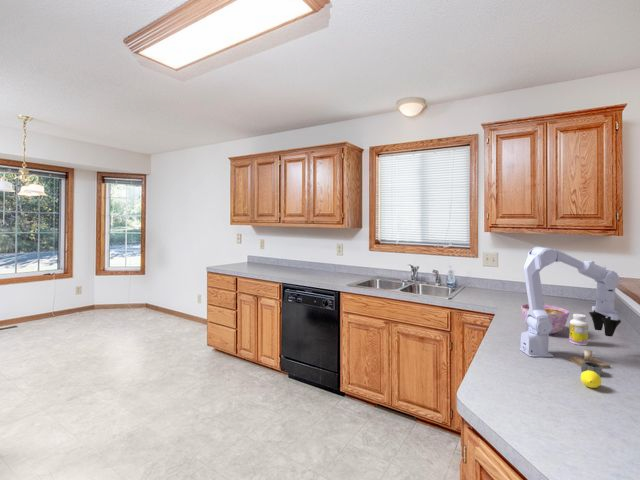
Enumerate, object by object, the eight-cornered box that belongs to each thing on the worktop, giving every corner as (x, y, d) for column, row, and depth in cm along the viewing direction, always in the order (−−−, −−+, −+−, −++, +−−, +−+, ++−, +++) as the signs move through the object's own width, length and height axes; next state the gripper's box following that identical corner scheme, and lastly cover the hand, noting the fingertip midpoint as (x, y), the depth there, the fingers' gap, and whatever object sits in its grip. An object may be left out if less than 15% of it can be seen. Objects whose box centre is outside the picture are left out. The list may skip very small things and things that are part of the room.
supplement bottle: (569, 339, 157) (570, 312, 157) (587, 342, 153) (588, 314, 152) (568, 343, 152) (569, 315, 151) (587, 347, 148) (588, 318, 147)
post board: (582, 367, 127) (583, 354, 126) (567, 359, 135) (567, 346, 134) (609, 368, 127) (610, 354, 126) (592, 359, 135) (593, 346, 134)
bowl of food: (553, 326, 177) (554, 304, 177) (578, 339, 157) (579, 314, 157) (512, 325, 179) (513, 303, 179) (532, 337, 159) (533, 313, 159)
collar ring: (589, 376, 120) (590, 367, 120) (577, 369, 125) (578, 361, 125) (605, 376, 120) (606, 367, 120) (592, 369, 125) (593, 361, 125)
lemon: (580, 382, 116) (581, 366, 116) (601, 387, 113) (602, 371, 113) (579, 387, 111) (580, 370, 111) (600, 392, 107) (601, 375, 108)
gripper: (628, 304, 128) (626, 339, 129) (606, 296, 142) (604, 328, 143) (606, 303, 130) (604, 338, 130) (587, 295, 144) (585, 326, 144)
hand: (603, 333), depth 137 cm, fingers open, 7 cm apart
